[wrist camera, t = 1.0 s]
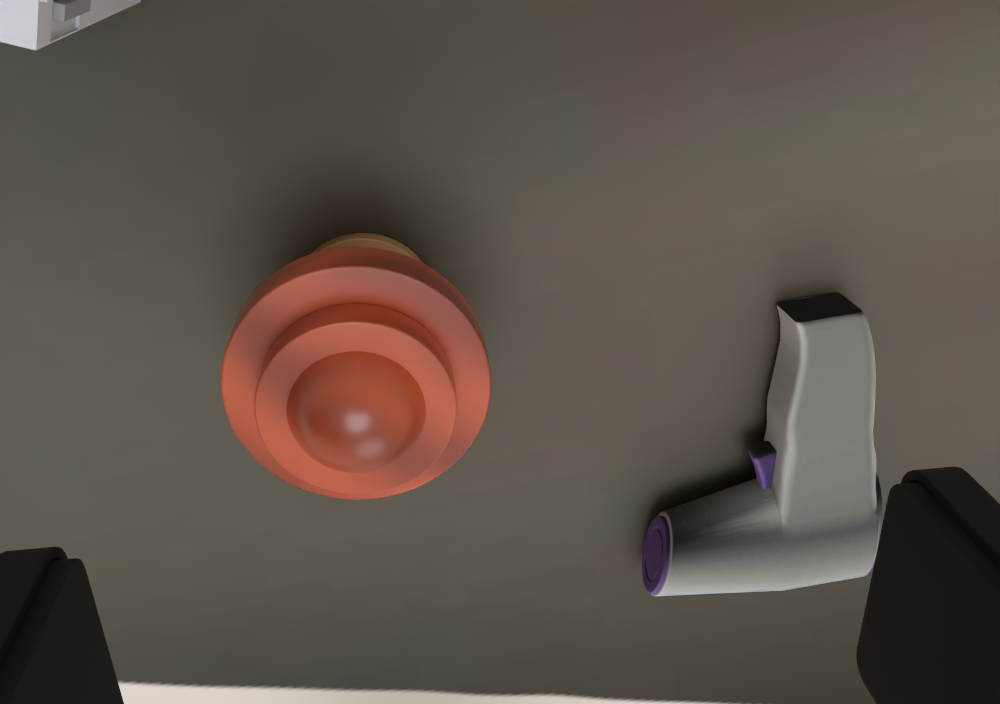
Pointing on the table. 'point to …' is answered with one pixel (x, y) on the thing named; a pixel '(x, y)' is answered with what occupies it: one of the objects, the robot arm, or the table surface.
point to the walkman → (51, 19)
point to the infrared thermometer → (789, 474)
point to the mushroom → (356, 371)
